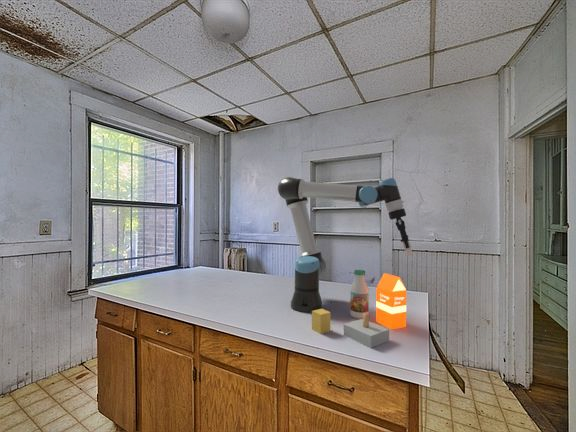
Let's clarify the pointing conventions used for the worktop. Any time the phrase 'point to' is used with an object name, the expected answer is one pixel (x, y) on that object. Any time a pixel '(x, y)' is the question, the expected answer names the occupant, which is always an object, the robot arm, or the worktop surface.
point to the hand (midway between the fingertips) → (409, 253)
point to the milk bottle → (359, 295)
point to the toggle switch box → (366, 332)
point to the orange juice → (391, 302)
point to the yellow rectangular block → (321, 320)
